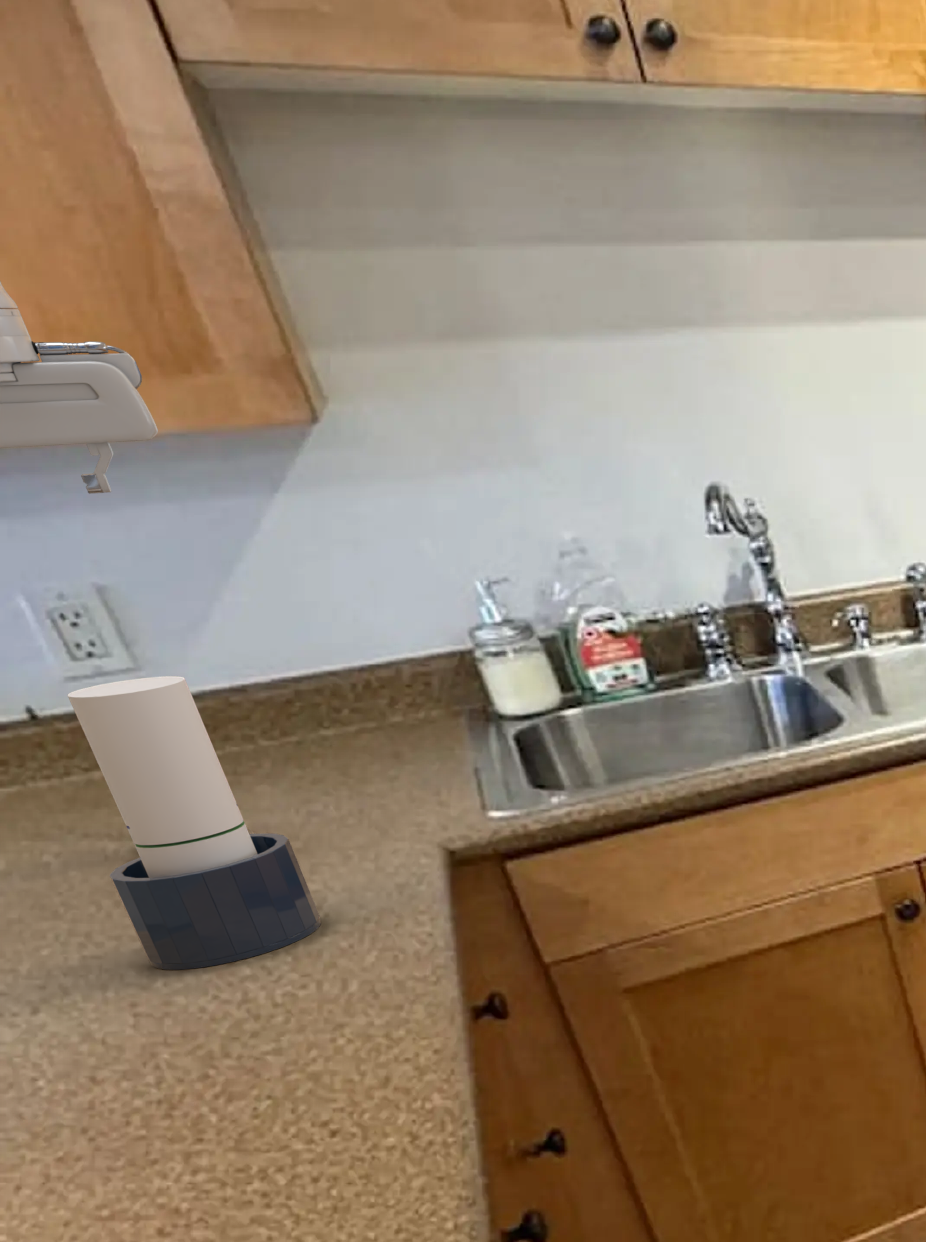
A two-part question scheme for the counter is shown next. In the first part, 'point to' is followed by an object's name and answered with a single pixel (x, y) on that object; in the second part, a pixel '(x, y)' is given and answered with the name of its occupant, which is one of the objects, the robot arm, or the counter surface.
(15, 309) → the robot arm
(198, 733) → the cylindrical container
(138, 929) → the crock
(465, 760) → the counter surface
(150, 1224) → the counter surface
